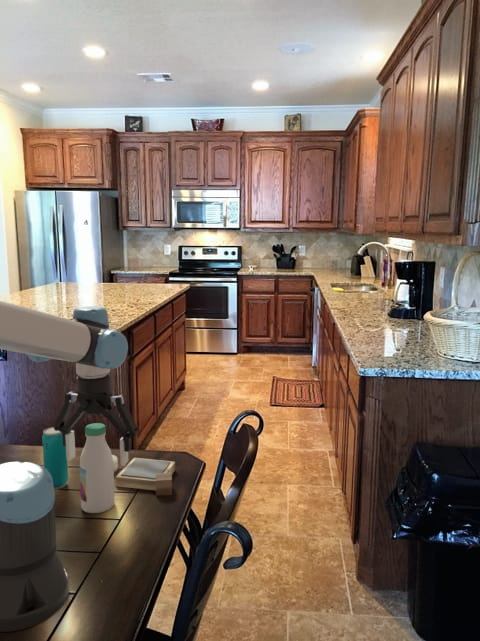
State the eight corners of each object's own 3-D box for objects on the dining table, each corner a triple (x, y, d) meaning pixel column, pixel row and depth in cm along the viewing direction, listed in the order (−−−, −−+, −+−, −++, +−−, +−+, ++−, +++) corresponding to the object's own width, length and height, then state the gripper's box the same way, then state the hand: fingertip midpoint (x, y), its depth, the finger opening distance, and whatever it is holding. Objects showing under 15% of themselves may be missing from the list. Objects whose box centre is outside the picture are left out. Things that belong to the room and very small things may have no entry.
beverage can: (62, 478, 132) (59, 424, 130) (72, 485, 128) (70, 430, 126) (41, 485, 128) (38, 430, 126) (50, 493, 124) (47, 436, 122)
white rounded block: (111, 476, 133) (110, 466, 133) (87, 474, 135) (86, 463, 134) (122, 465, 140) (121, 455, 140) (98, 463, 141) (98, 453, 141)
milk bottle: (119, 498, 122) (117, 420, 119) (107, 515, 114) (105, 432, 111) (88, 496, 123) (85, 419, 120) (75, 513, 115) (72, 431, 112)
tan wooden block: (172, 494, 124) (171, 479, 124) (155, 495, 124) (155, 480, 123) (171, 487, 128) (171, 472, 128) (156, 488, 128) (155, 473, 127)
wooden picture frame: (160, 490, 126) (160, 480, 126) (116, 486, 128) (115, 475, 128) (175, 470, 138) (175, 460, 137) (134, 466, 140) (134, 456, 140)
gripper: (151, 372, 115) (153, 458, 119) (53, 367, 120) (58, 450, 123) (138, 381, 108) (141, 473, 111) (34, 375, 112) (40, 463, 116)
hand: (97, 461), depth 117 cm, fingers open, 13 cm apart
